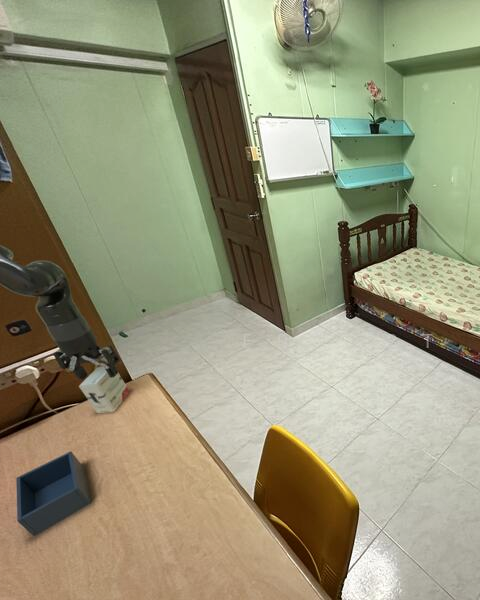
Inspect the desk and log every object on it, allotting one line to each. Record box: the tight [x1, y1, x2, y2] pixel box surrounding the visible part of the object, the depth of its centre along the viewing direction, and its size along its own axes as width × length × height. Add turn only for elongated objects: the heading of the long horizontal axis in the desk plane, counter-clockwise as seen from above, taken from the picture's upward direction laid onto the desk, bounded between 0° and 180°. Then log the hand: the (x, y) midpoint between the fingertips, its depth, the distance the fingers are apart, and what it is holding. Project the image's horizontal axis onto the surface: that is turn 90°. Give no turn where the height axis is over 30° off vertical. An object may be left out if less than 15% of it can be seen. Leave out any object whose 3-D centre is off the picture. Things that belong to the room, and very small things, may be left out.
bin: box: [16, 451, 92, 537], centre depth 72 cm, size 9×13×6 cm
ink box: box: [78, 366, 130, 414], centre depth 96 cm, size 8×5×12 cm, turn 9°
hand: (99, 376), depth 93 cm, fingers open, 8 cm apart
